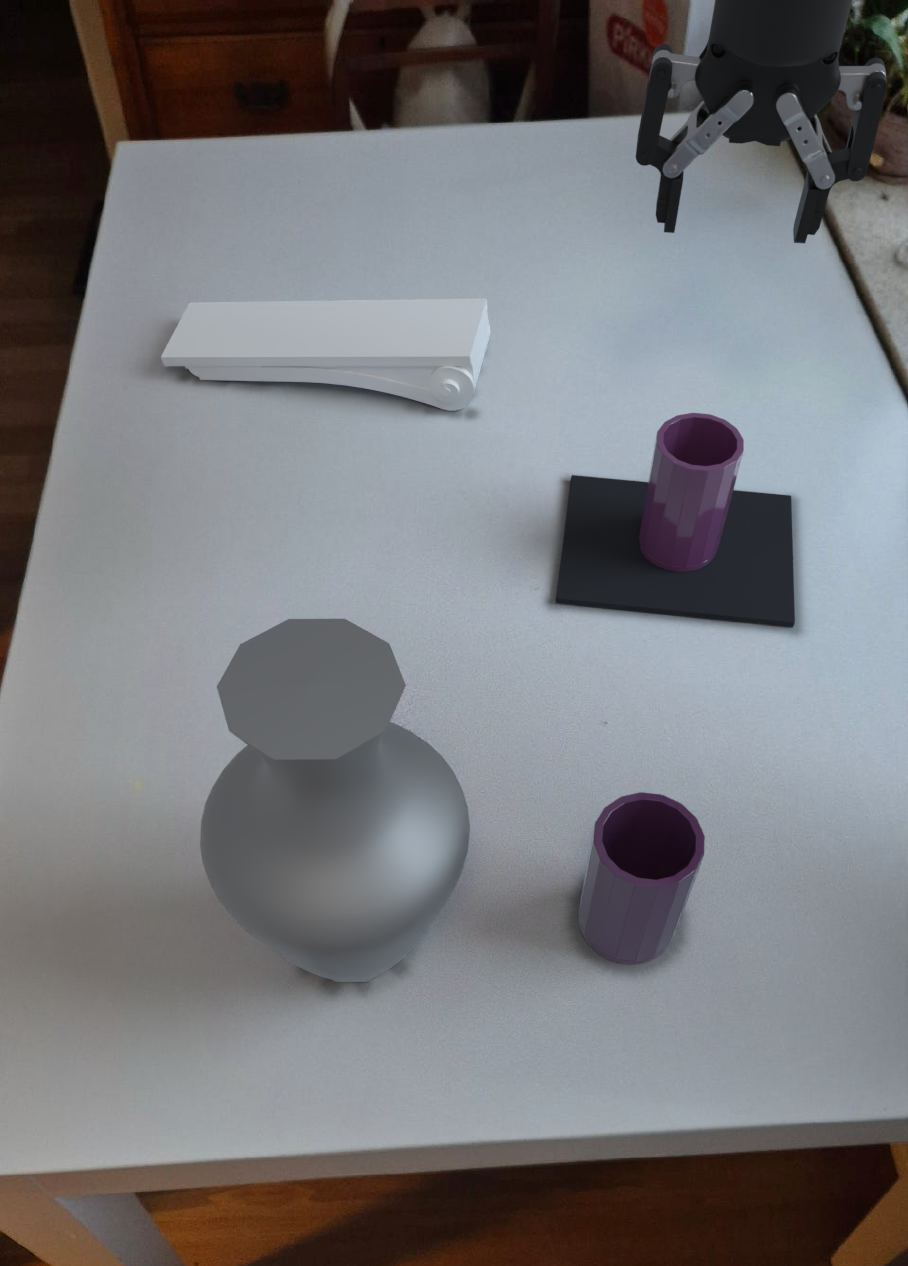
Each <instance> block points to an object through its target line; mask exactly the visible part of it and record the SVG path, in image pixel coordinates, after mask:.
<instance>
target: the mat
mask: <svg viewBox="0 0 908 1266" xmlns="http://www.w3.org/2000/svg"><path fill="white" fill-rule="evenodd" d="M647 485H648V481H639V480H628V479H617V478H607V477H598V476H586V475H575V474H572V475H571V476H570V483H569V491H568V500H567V507H566V508H567V509H566V514H565V515H566V516H565V523H564V531H563V532H564V533H563V539H562V547H561V555H560V564H559V570H558V571H559V573H558V580H557V588H556V597H555V603H556V604H560V605H569V606H571V605H572V606H579V607H589V608H600V609H610V610H619V611H629V612H640V613H648V614H649V613H650V614H657V615H659V614H660V615H668V616H678V617H688V618H696V619H705V620H706V619H707V620H716V621H727V622H735V623H744V624H755V625H763V626H764V625H765V626H775V627H784V628H794V627H795V623H796V612H795V610H796V609H795V578H794V575H795V574H794V573H795V572H794V543H793V540H794V539H793V538H794V537H793V509H792V508H793V507H792V506H793V505H792V495H790V494H780V493H779V494H778V493H770V492H769V493H768V492H757V491H748V490H747V491H746V490H736V489H734V490H733V493H732V497H731V501H730V505H729V509H728V512H727V516H726V520H725V524H724V528H723V532H722V535H721V539H720V543H719V547H718V549H717V552H716V555H715V556H714V558H713V559H712V561H711V562H710V563H709V564H707V565H706V566H704V567H702V568H700V569H697V570H694V571H689V572H674V571H669V570H665V569H662V568H660V567H658V566H656V565H654V564H652V563H651V562H650V561H648V560H647V559H646V558H645V556H644V555H643V554H642V552H641V550H640V548H639V544H638V538H639V531H640V524H641V519H642V513H643V508H644V502H645V496H646V491H647Z"/></svg>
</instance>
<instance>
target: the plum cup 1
mask: <svg viewBox="0 0 908 1266" xmlns="http://www.w3.org/2000/svg"><path fill="white" fill-rule="evenodd" d="M656 431H657V432H656V435H655V441H654V447H653V453H652V458H651V463H650V470H649V474H648V480H647V482H648V485H647V491H646V496H645V502H644V508H643V513H642V519H641V524H640V531H639V538H638V544H639V548H640V550H641V552H642V554H643V555H644V556H645V558H646V559H647V560H648V561H650V562H651V563H652V564H654V565H656V566H658V567H660V568H662V569H665V570H669V571H674V572H689V571H694V570H697V569H700V568H702V567H704V566H706V565H707V564H709V563H710V562H711V561H712V559H713V558H714V556H715V555H716V552H717V549H718V547H719V543H720V539H721V535H722V532H723V528H724V524H725V520H726V516H727V512H728V509H729V505H730V501H731V497H732V493H733V490H735V486H736V481H737V478H738V475H739V470H740V467H741V462H742V459H743V455H744V449H745V440H744V438H743V436H742V434H741V433H740V431H739V429H738V428H737V427H736V426H735V425H733V424H732V423H731V422H729V421H728V420H727V419H724V418H722V417H719V416H716V415H713V414H710V413H700V412H688V413H683V414H678V415H675V416H673V417H671V418H669V419H667V420H666V421H664V422H663V423H662V424H661V426H660V427H659V428H658V430H656Z"/></svg>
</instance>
